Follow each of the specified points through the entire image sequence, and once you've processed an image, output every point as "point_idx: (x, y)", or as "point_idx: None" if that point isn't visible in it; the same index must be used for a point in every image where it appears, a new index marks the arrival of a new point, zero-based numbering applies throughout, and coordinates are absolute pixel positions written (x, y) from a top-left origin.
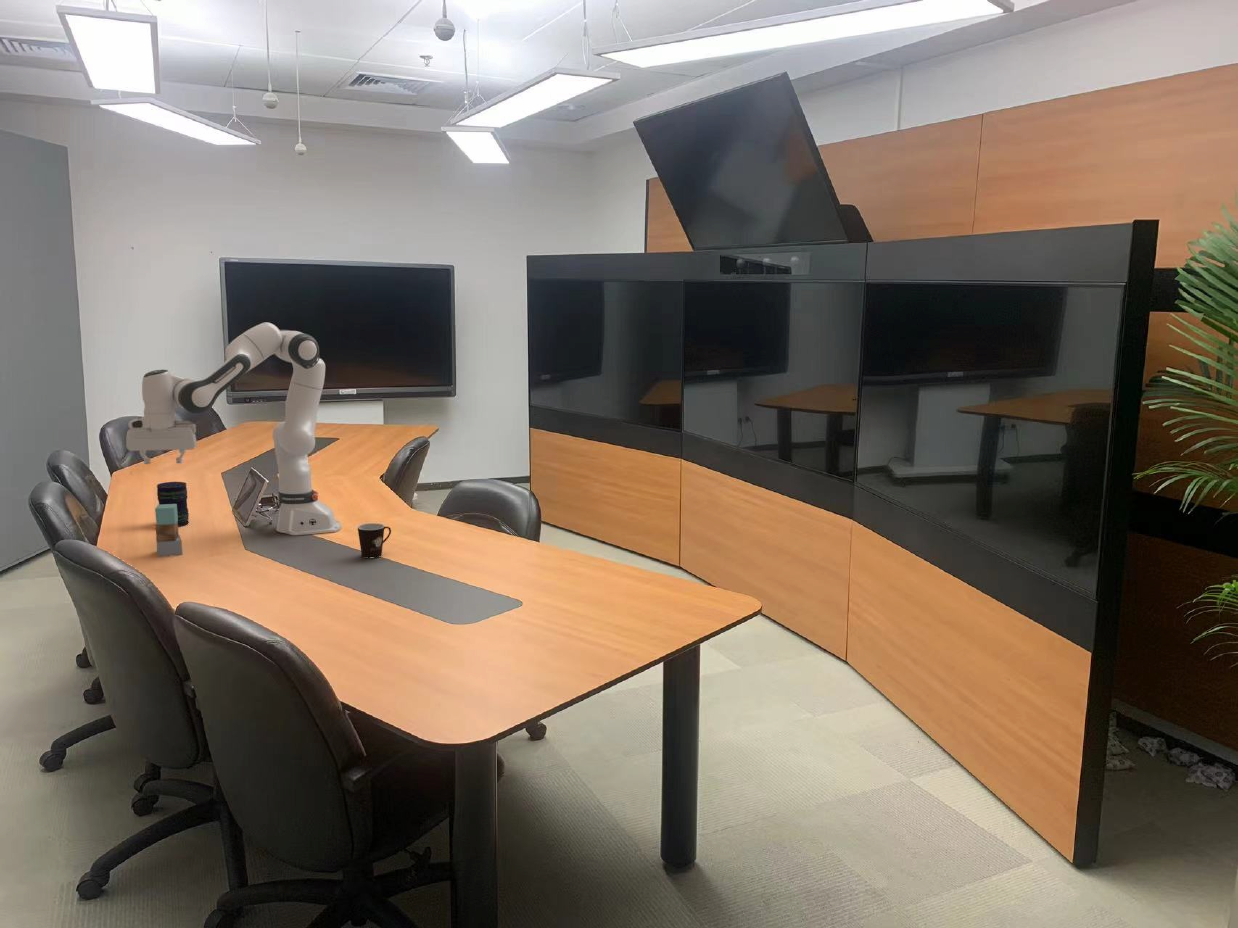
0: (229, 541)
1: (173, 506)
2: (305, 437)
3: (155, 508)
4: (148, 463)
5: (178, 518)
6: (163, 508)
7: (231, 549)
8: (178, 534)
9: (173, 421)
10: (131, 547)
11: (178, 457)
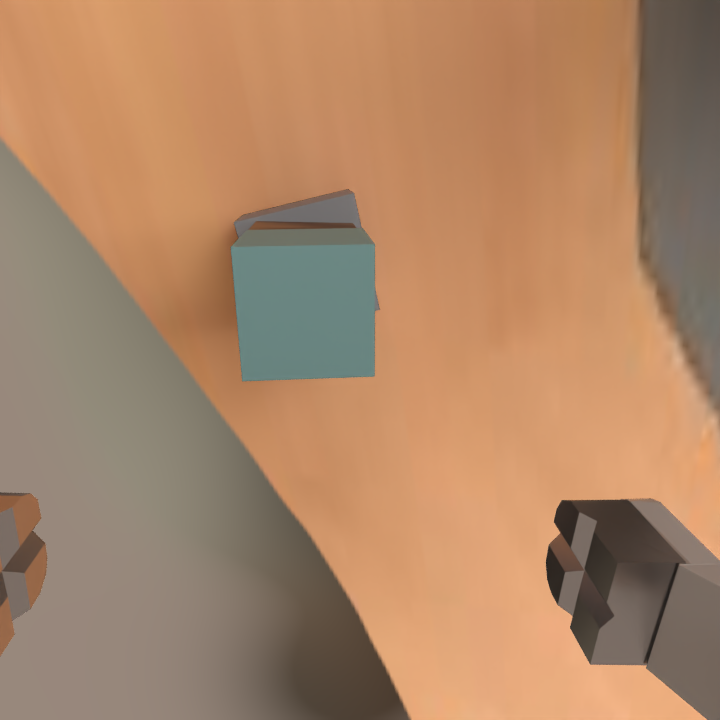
0: (575, 83)
1: (364, 334)
2: None
3: (243, 375)
4: (24, 586)
5: None
6: (301, 378)
7: (580, 245)
8: (353, 224)
9: None
10: (84, 103)
11: (643, 588)
